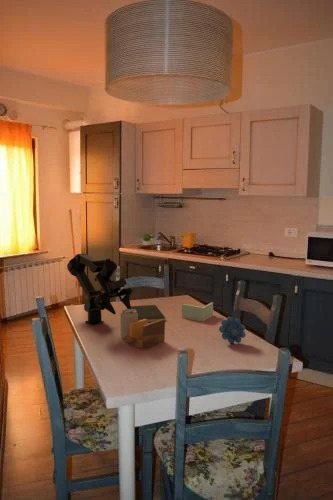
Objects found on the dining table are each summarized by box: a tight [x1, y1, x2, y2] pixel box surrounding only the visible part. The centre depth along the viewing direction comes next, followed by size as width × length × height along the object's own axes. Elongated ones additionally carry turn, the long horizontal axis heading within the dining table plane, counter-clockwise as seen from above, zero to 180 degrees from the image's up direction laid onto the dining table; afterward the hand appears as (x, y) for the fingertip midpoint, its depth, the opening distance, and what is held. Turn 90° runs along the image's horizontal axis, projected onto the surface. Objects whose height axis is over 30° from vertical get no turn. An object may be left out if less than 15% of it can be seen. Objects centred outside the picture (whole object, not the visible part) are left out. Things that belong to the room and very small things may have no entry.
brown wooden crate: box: [124, 318, 166, 351], centre depth 174 cm, size 11×12×10 cm
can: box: [120, 308, 138, 340], centre depth 180 cm, size 8×8×12 cm
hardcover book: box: [125, 304, 166, 323], centre depth 212 cm, size 16×23×2 cm
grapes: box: [218, 316, 246, 344], centre depth 173 cm, size 12×7×12 cm, turn 96°
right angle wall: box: [181, 301, 214, 322], centre depth 211 cm, size 12×12×8 cm
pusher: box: [130, 319, 148, 340], centre depth 176 cm, size 1×9×8 cm, turn 139°
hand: (122, 311), depth 181 cm, fingers open, 9 cm apart
